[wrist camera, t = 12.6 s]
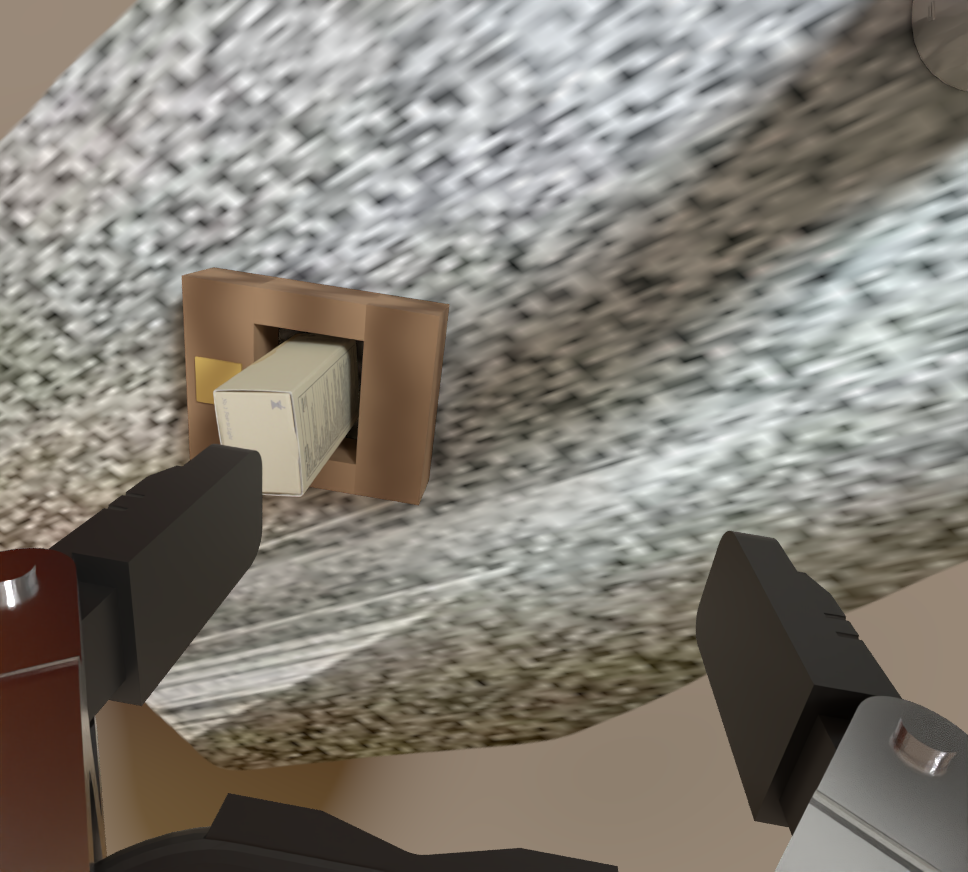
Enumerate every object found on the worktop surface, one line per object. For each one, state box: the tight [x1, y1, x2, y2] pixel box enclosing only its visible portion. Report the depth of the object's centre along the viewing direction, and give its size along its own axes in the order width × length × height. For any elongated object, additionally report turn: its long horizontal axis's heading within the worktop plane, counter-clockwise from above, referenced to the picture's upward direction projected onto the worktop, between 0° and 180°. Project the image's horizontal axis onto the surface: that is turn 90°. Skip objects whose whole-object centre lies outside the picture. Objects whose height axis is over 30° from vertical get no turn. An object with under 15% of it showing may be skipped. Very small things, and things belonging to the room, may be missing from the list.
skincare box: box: [213, 333, 360, 497], centre depth 39 cm, size 6×4×12 cm
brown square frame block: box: [182, 268, 449, 505], centre depth 43 cm, size 16×13×4 cm
